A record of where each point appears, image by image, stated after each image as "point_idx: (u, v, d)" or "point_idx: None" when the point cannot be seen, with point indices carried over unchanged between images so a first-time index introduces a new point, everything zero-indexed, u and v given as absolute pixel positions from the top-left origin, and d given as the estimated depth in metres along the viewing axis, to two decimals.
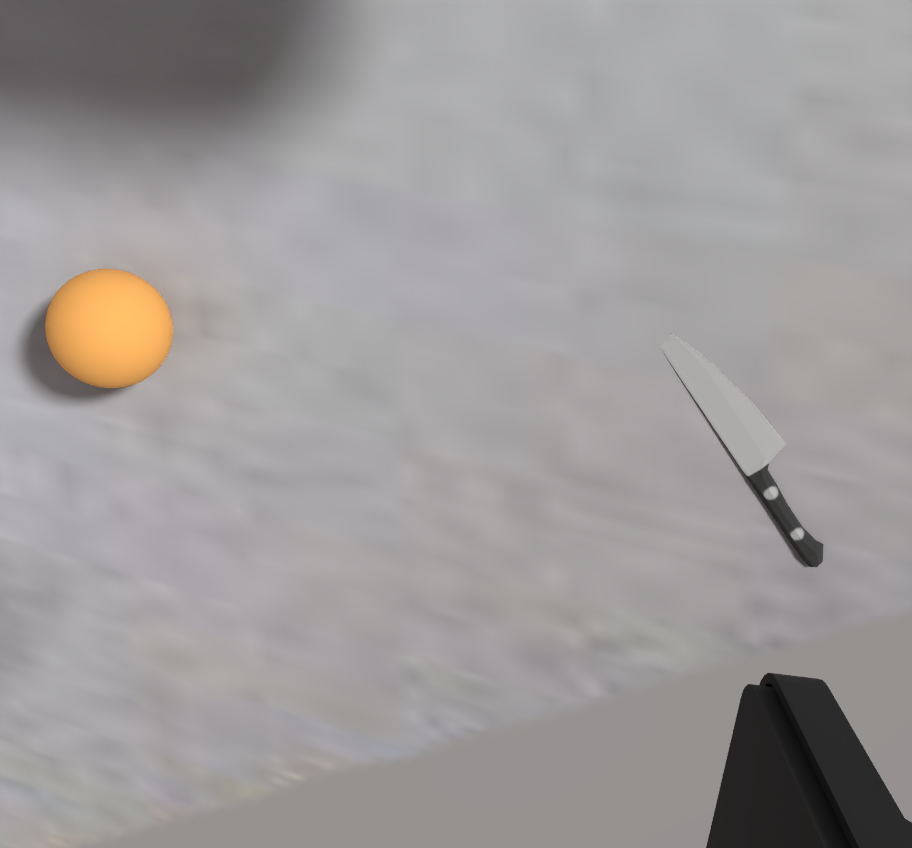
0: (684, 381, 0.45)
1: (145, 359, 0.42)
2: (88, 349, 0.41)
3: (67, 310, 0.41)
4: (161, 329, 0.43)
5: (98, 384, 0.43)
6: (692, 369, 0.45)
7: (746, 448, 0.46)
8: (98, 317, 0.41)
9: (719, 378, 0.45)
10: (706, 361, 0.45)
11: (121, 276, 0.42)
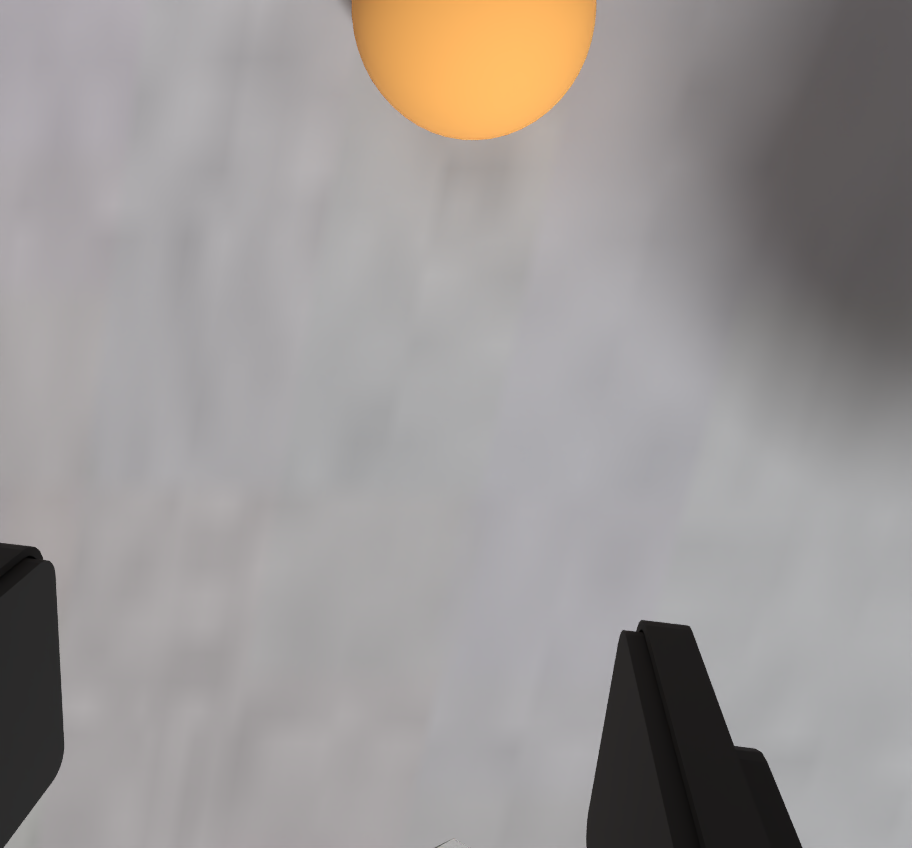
0: None
1: (420, 108, 0.21)
2: (447, 3, 0.19)
3: None
4: (476, 136, 0.21)
5: None
6: None
7: None
8: (515, 32, 0.19)
9: None
10: None
11: (584, 58, 0.21)
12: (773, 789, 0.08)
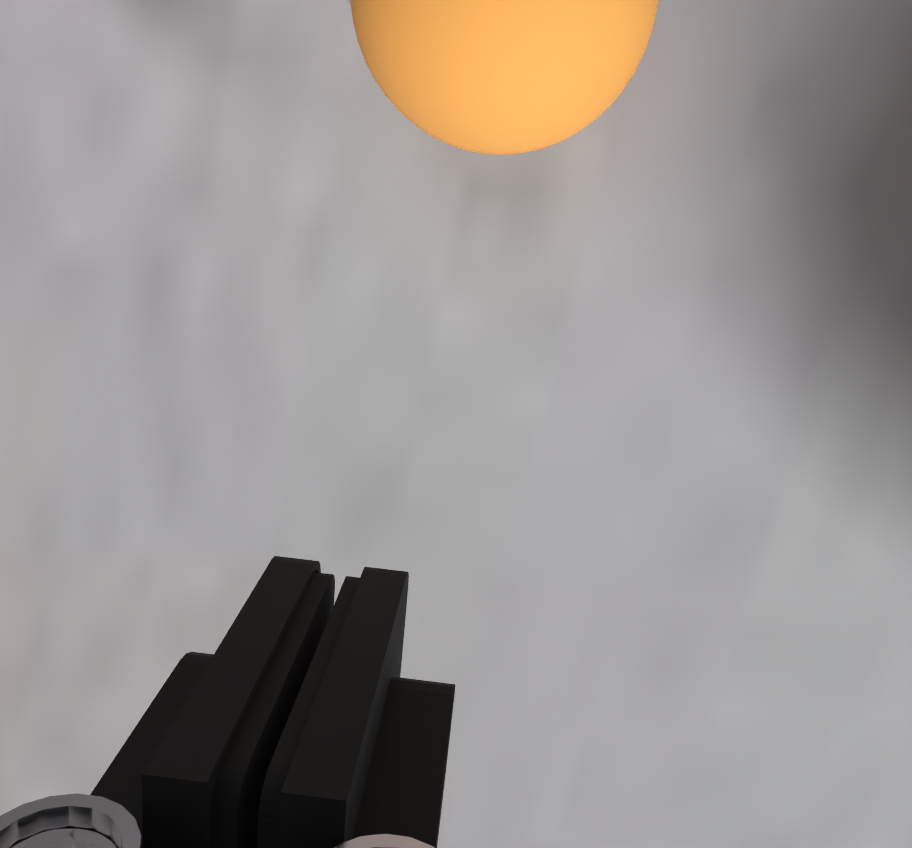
0: None
1: (435, 115, 0.16)
2: None
3: None
4: (505, 150, 0.17)
5: None
6: None
7: None
8: (559, 16, 0.14)
9: None
10: None
11: (643, 52, 0.17)
12: (451, 717, 0.09)
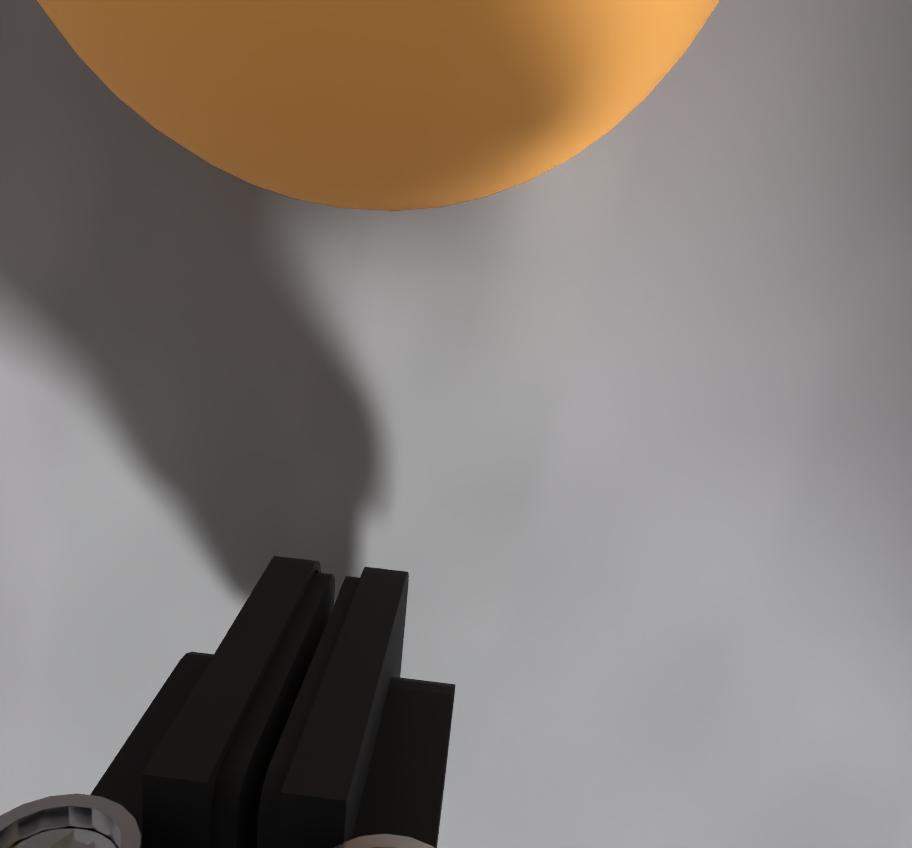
0: None
1: (182, 119, 0.06)
2: None
3: None
4: (387, 206, 0.07)
5: None
6: None
7: None
8: None
9: None
10: None
11: None
12: (451, 717, 0.09)
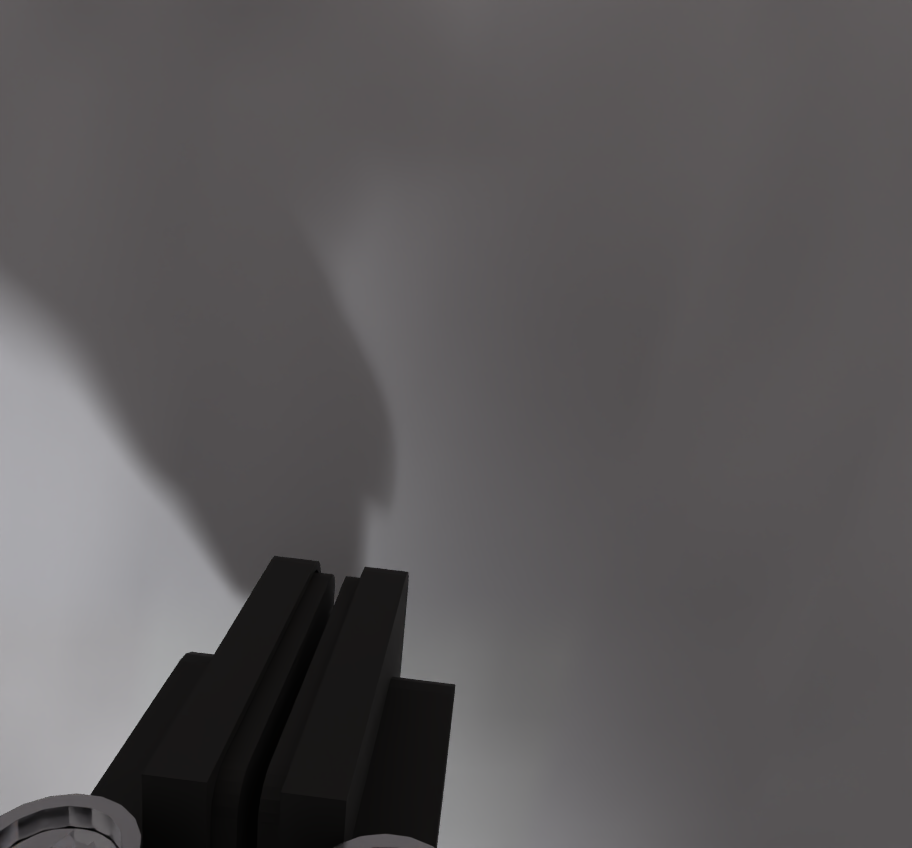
0: None
1: None
2: None
3: None
4: None
5: None
6: None
7: None
8: None
9: None
10: None
11: None
12: None
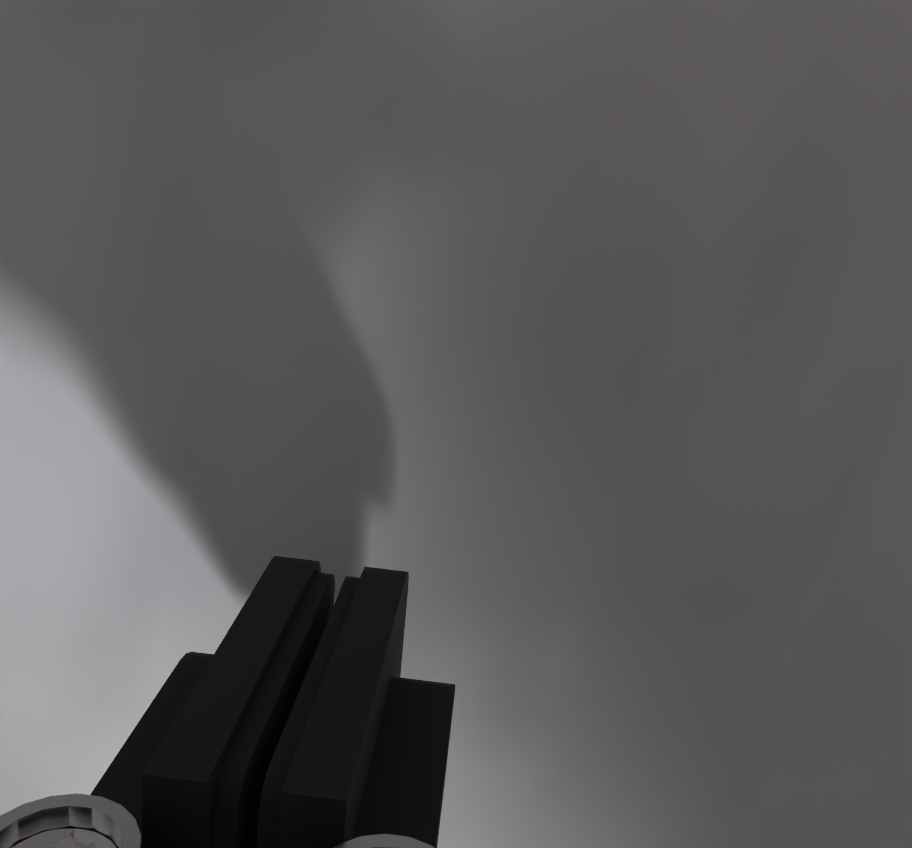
0: None
1: None
2: None
3: None
4: None
5: None
6: None
7: None
8: None
9: None
10: None
11: None
12: None
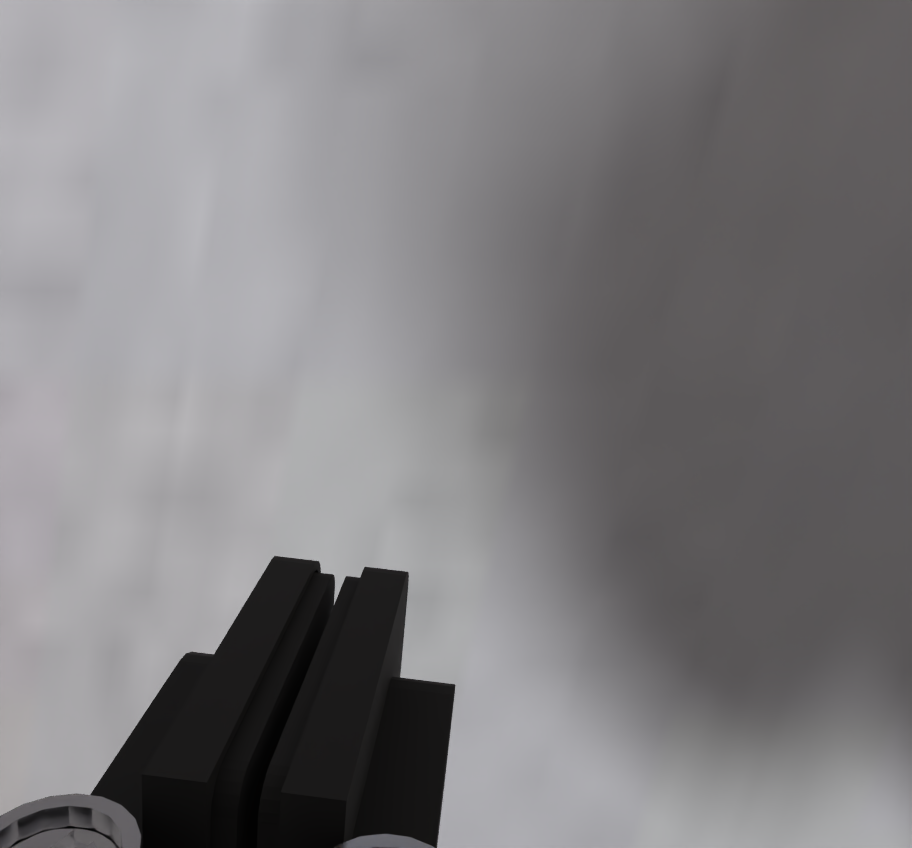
0: None
1: None
2: None
3: None
4: None
5: None
6: None
7: None
8: None
9: None
10: None
11: None
12: (451, 717, 0.09)
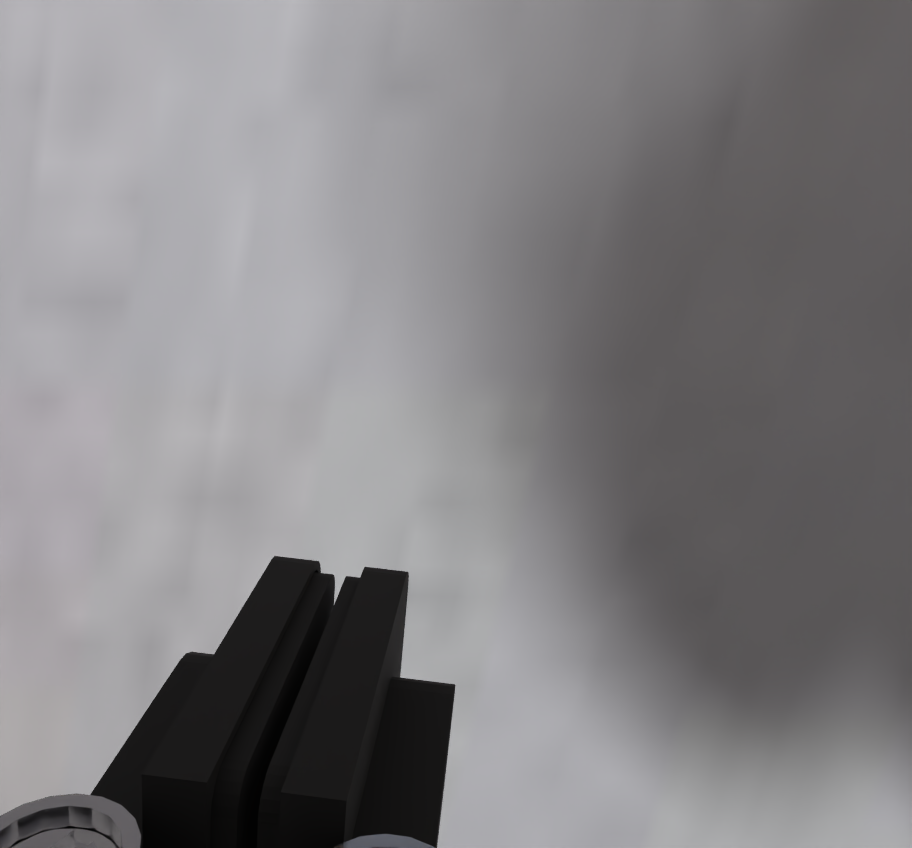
0: None
1: None
2: None
3: None
4: None
5: None
6: None
7: None
8: None
9: None
10: None
11: None
12: (451, 717, 0.09)
